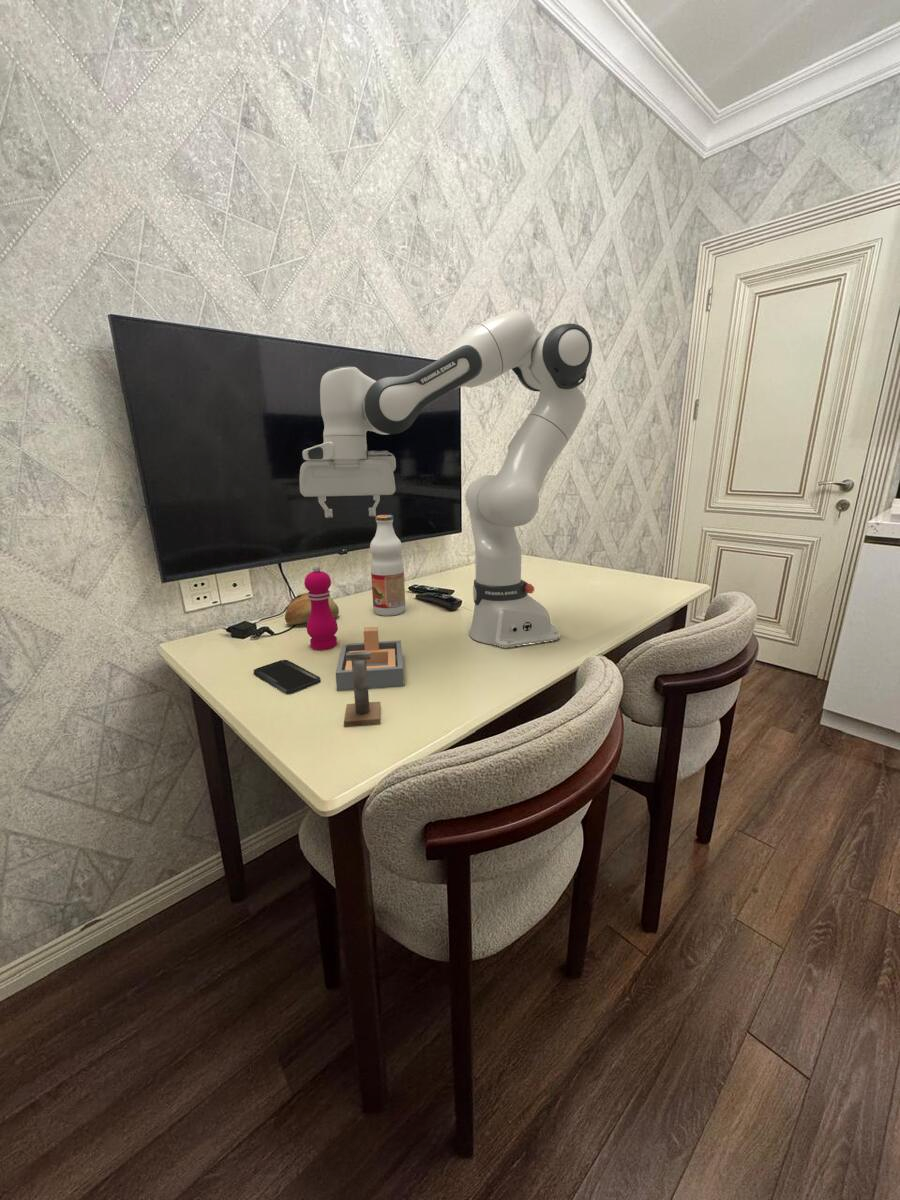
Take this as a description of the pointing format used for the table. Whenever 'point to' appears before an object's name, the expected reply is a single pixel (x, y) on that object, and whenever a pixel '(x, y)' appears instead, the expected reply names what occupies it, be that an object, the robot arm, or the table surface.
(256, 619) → the table surface
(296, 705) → the table surface
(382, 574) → the fruit juice
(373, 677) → the tray
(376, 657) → the ring
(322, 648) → the pepper mill
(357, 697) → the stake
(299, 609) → the bread roll
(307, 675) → the phone
